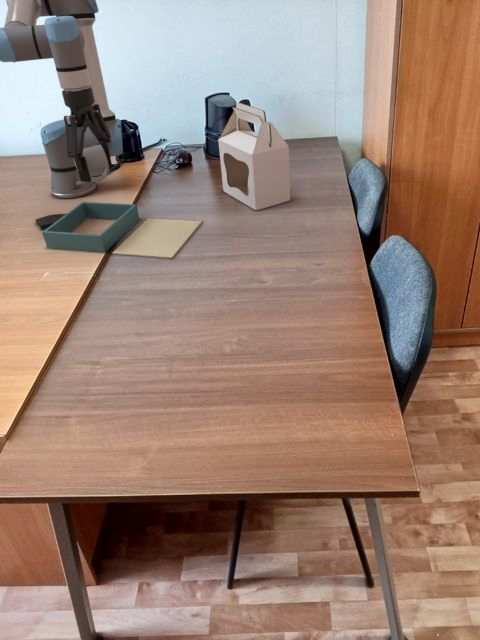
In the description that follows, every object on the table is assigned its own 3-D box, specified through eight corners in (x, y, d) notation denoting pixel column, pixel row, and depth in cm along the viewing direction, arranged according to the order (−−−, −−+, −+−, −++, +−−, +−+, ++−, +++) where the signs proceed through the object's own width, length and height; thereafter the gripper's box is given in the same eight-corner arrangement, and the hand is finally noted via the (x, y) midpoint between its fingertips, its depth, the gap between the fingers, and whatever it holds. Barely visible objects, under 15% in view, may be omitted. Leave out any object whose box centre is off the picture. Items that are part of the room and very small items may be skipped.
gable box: (222, 191, 183) (214, 103, 166) (255, 182, 188) (250, 97, 171) (256, 211, 167) (250, 117, 151) (290, 201, 173) (288, 109, 156)
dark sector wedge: (84, 220, 169) (82, 215, 168) (40, 231, 164) (39, 226, 163) (77, 211, 175) (76, 207, 174) (35, 222, 170) (33, 217, 169)
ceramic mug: (76, 174, 150) (69, 146, 145) (105, 168, 153) (99, 141, 148) (85, 185, 142) (77, 156, 138) (115, 179, 145) (108, 150, 141)
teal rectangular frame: (86, 216, 171) (82, 201, 168) (139, 219, 167) (136, 204, 164) (47, 248, 154) (41, 232, 151) (105, 252, 150) (101, 236, 147)
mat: (148, 219, 167) (147, 218, 167) (201, 222, 163) (201, 221, 163) (112, 254, 149) (112, 252, 148) (172, 258, 144) (171, 257, 144)
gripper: (87, 79, 145) (105, 160, 158) (36, 98, 127) (61, 188, 140) (111, 78, 143) (128, 160, 156) (63, 98, 125) (87, 189, 138)
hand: (97, 174), depth 148 cm, fingers closed on ceramic mug, 11 cm apart
